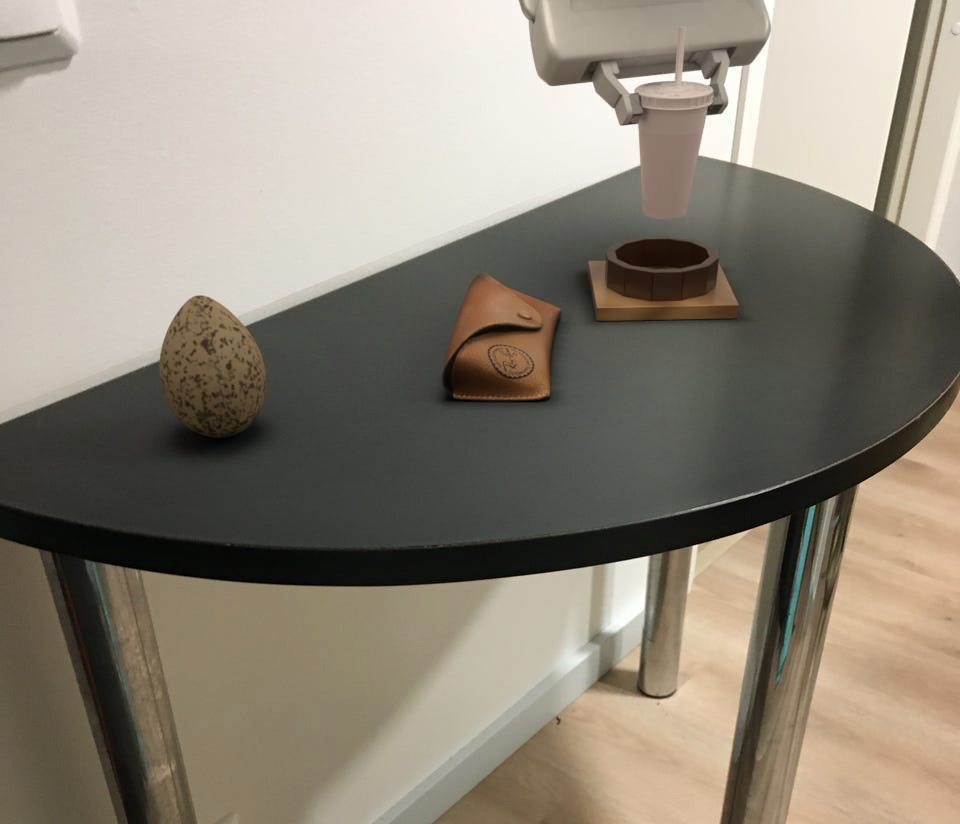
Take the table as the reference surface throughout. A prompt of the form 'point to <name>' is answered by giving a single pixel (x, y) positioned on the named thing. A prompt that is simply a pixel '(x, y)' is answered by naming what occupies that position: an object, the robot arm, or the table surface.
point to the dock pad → (660, 281)
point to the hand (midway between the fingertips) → (675, 115)
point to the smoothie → (670, 139)
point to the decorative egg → (211, 370)
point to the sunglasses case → (500, 345)
